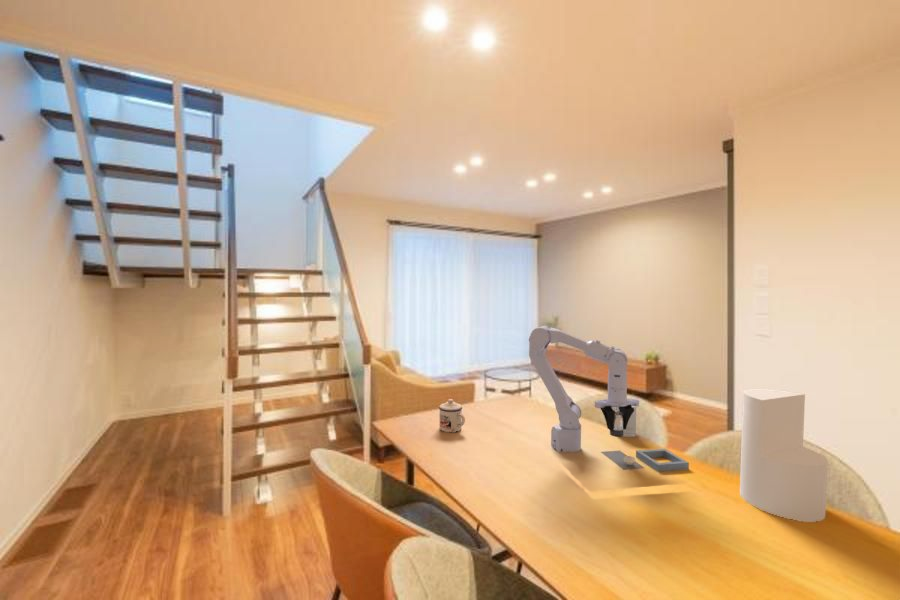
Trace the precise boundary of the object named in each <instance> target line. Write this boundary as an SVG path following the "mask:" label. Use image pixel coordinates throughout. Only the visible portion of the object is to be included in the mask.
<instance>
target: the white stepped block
mask: <svg viewBox="0 0 900 600" xmlns="http://www.w3.org/2000/svg"><path fill="white" fill-rule="evenodd" d="M805 400H806V394H805V393H800V392H795V391H789V390H782V389H781V390H780V389H774V388H773V389H770V388H749V389H745V390H743V391H742V414H741V416H742V420H741V446H740V447H741V448H740V451H741V453H740V477H739V478H740V479H739V494H740V497H741V498H742V499H743V500H744V501H745V502H746V501H747V502H746V503H747V504H749V505H750V504H751V505H750V506H752V505H753V507H754V506H755V508H756V507H757V508H756V509H758V508H759V509H758V510H760V509H761V510H760V511H762V510H764V511H766V512H765V513H767V512H768V513H767V514H769V513H771V514H770V515H772V514H774V515H773V516H775V515H777V516H776V517H778V516H780V517H779V518H781V517H784V518H783V519H785V518H789V519H793V520H792V521H794V520H798V521H797V522H801V521H803V523H817V522H816V521H818V522H821V521H823V520H825V519H826V512H827V510H826V508H827V490H828V489H827V483H828V482H827V481H828V462H829V460H828V459H827V457H826V456H824V455H823V454H821V453H820V452H818V451H815V450H814V449H811V448H808V447H805V446H804V429H805V427H804V426H805V425H804V424H805ZM764 511H763V512H764ZM789 519H788V520H789Z"/></svg>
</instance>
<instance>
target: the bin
mask: <svg viewBox="0 0 900 600" xmlns="http://www.w3.org/2000/svg"><path fill="white" fill-rule="evenodd" d="M635 457H636V458H637V459H638V460H640V461H641V462H643V463H644V464H646V465H647V466H648V467H650V468H651V469H653V470H654V471H656V472H668V471H669V472H672V471H673V472H674V471H683V470H685V471H686V470H689V469H690V468H689V467H690V462H689V461H687V460H685V459H684V458H681V457H679V456H678V455H677V454H674V453H673V452H671V451H669V450H668V449H666V448H657V449H644V450H643V449H642V450H635ZM654 458H665V459H667V460H668V461H667V462H658V461H656V459H654Z"/></svg>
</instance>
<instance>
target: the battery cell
mask: <svg viewBox="0 0 900 600" xmlns="http://www.w3.org/2000/svg"><path fill="white" fill-rule="evenodd" d="M623 415H624V414H623V413H621V412H619V411H615V414H614V420H613V430H609V435H610V436H612V437H616V438H623V437H624V436H623V431H624V429H623Z"/></svg>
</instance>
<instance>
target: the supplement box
mask: <svg viewBox="0 0 900 600" xmlns="http://www.w3.org/2000/svg"><path fill="white" fill-rule="evenodd" d="M632 408H634V412H633V413H632V415H631V417H630V418H629V421H628V424H627V427H626V429H624V431H623V437H624V438H625V437H627V438H628V437H630V438H631V437H633V438H636V437H637V435H636V434H637V433H636V432H637V406H632ZM612 410H614V411H619V407H612ZM619 412H620V411H619Z"/></svg>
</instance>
